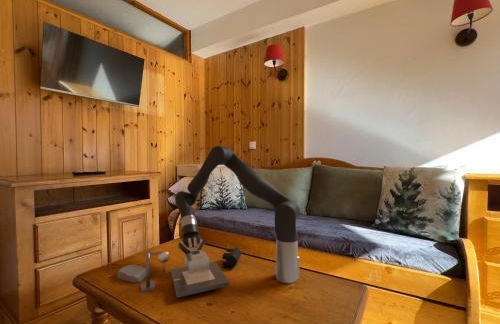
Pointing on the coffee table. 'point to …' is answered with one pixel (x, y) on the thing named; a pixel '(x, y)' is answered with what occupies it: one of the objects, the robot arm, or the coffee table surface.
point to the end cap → (231, 258)
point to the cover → (196, 264)
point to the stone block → (132, 273)
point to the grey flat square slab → (197, 281)
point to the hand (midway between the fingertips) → (194, 262)
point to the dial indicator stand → (149, 284)
